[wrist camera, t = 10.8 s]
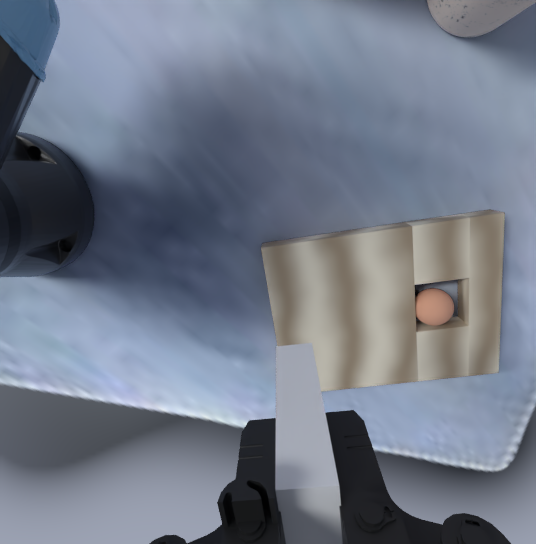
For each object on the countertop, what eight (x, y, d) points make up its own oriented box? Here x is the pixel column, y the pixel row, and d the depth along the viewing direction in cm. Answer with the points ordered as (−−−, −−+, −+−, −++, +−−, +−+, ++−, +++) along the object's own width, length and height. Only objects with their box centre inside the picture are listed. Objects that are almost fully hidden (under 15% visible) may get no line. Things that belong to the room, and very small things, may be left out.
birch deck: (285, 382, 43) (285, 395, 40) (262, 242, 38) (260, 248, 35) (486, 360, 41) (498, 372, 38) (489, 209, 36) (504, 212, 33)
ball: (408, 328, 37) (448, 335, 35) (406, 294, 36) (448, 299, 34) (420, 313, 40) (458, 318, 38) (419, 281, 39) (458, 284, 36)
